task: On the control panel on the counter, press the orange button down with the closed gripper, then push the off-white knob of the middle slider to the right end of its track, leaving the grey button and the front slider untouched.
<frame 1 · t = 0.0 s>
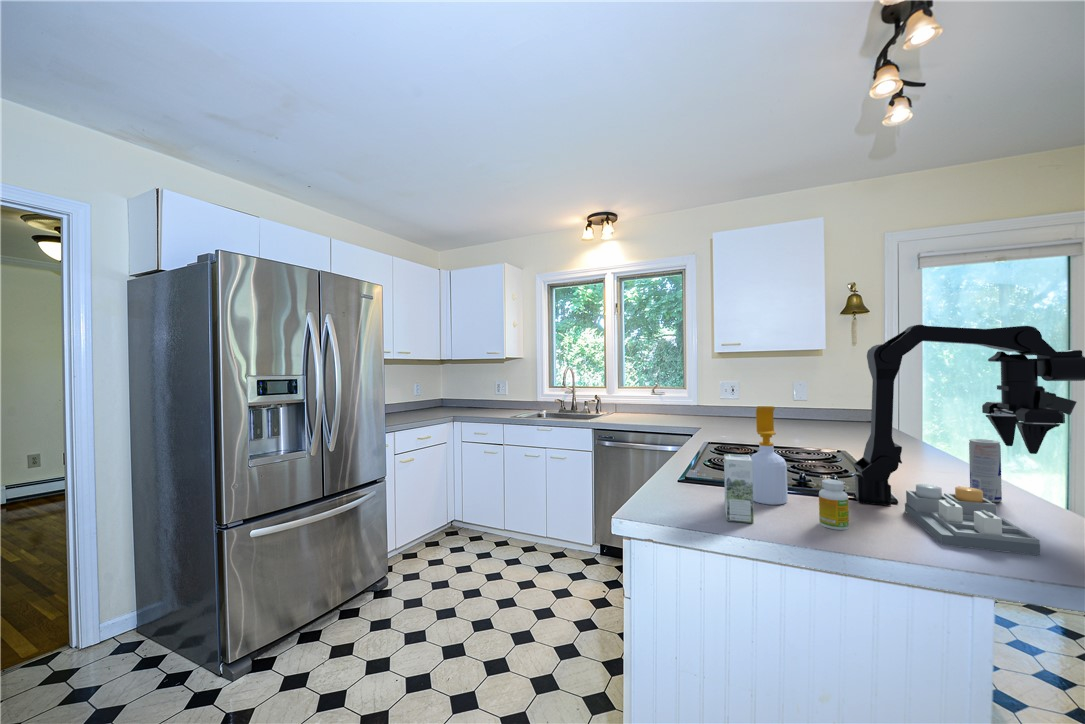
hand: (1020, 449, 101), 15 cm above the table, tool pointing down, fingers open, 9 cm apart
slider s1: (987, 523, 86), point 4 cm above the table, slide at 3.5 cm
panel: (963, 530, 92), on the table
button b2: (968, 496, 97), point 5 cm above the table, slide at 0.0 cm
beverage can: (985, 500, 111), on the table
syrup box: (739, 519, 103), on the table
slider s2: (950, 511, 92), point 4 cm above the table, slide at 0.0 cm
supplement bottle: (834, 526, 97), on the table
soap bottle: (767, 500, 115), on the table
button b1: (928, 493, 100), point 5 cm above the table, slide at 0.0 cm
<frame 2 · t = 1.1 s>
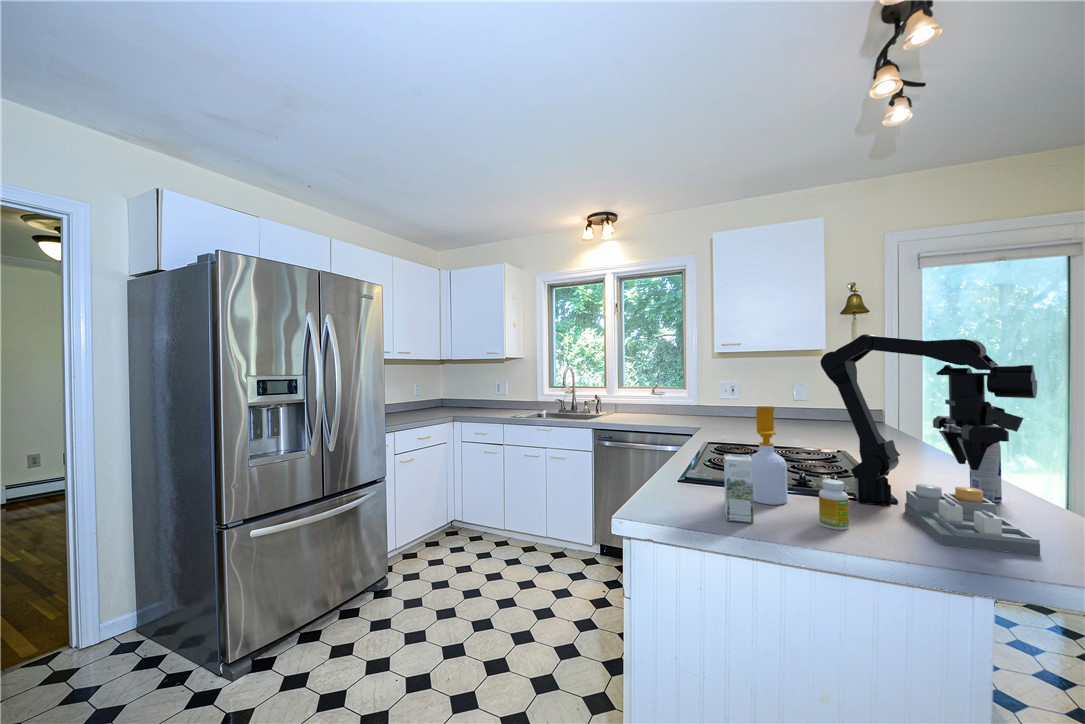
hand: (968, 466, 97), 12 cm above the table, tool pointing down, fingers open, 5 cm apart
nothing on the table moved.
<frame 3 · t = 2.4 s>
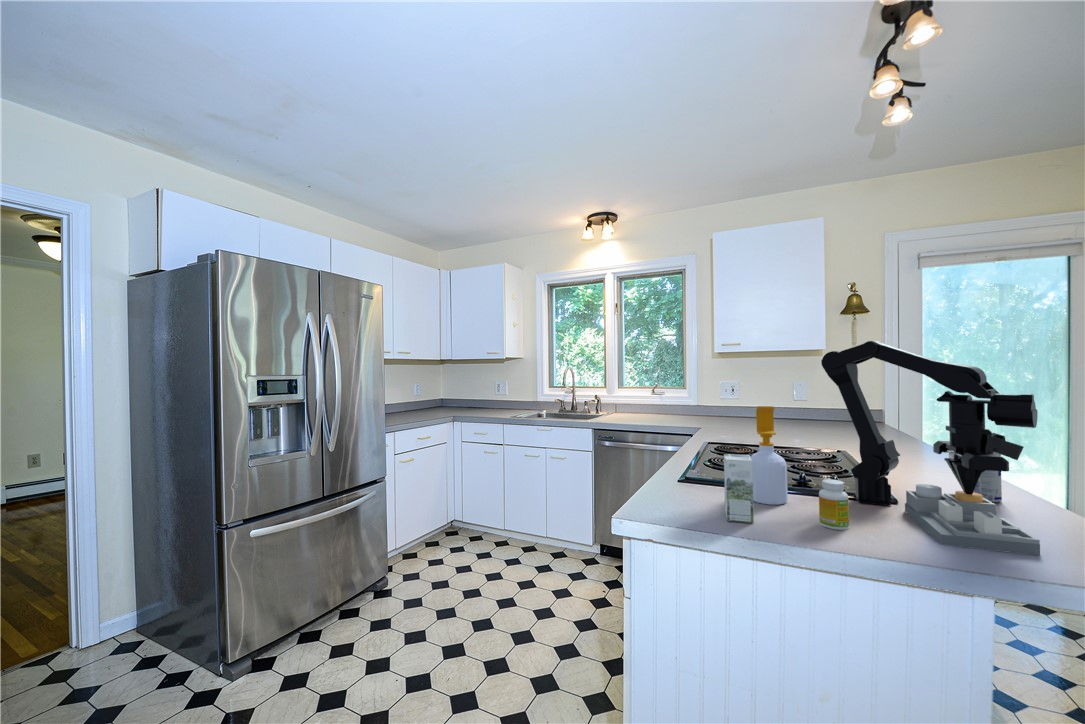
hand: (968, 493, 97), 6 cm above the table, tool pointing down, fingers closed, pressing on button b2
button b2: (968, 501, 97), point 4 cm above the table, slide at -1.0 cm, touching gripper
everything else where it was.
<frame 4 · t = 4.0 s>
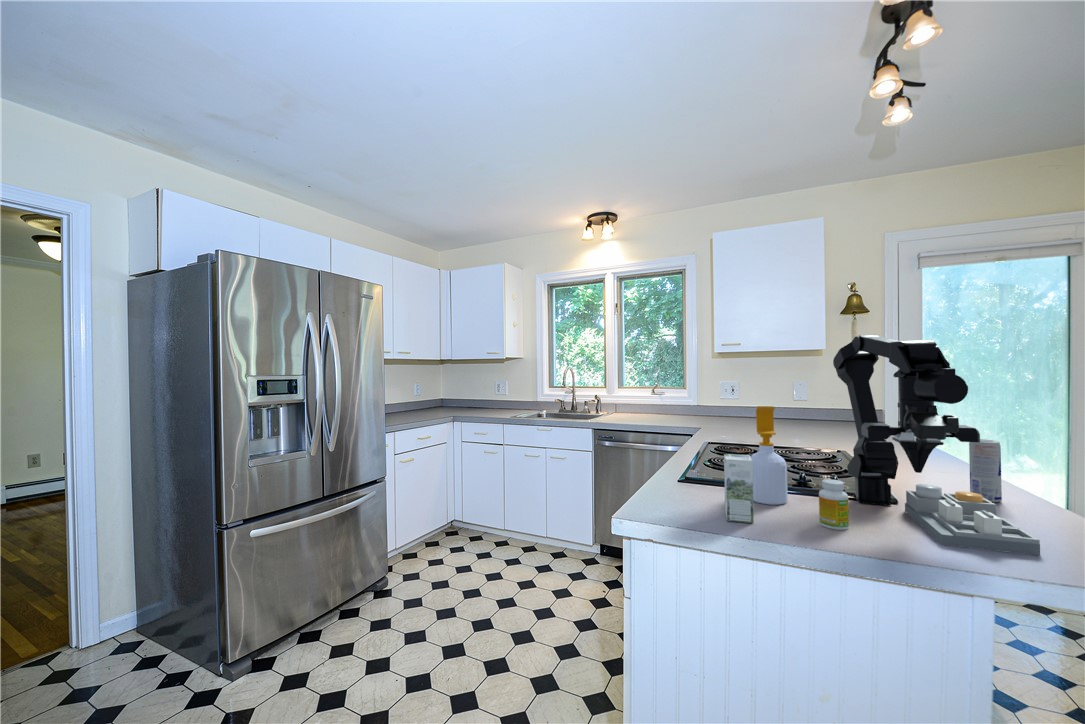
hand: (917, 472, 95), 12 cm above the table, tool pointing down, fingers closed
button b2: (969, 501, 97), point 4 cm above the table, slide at -1.0 cm
everything else where it was.
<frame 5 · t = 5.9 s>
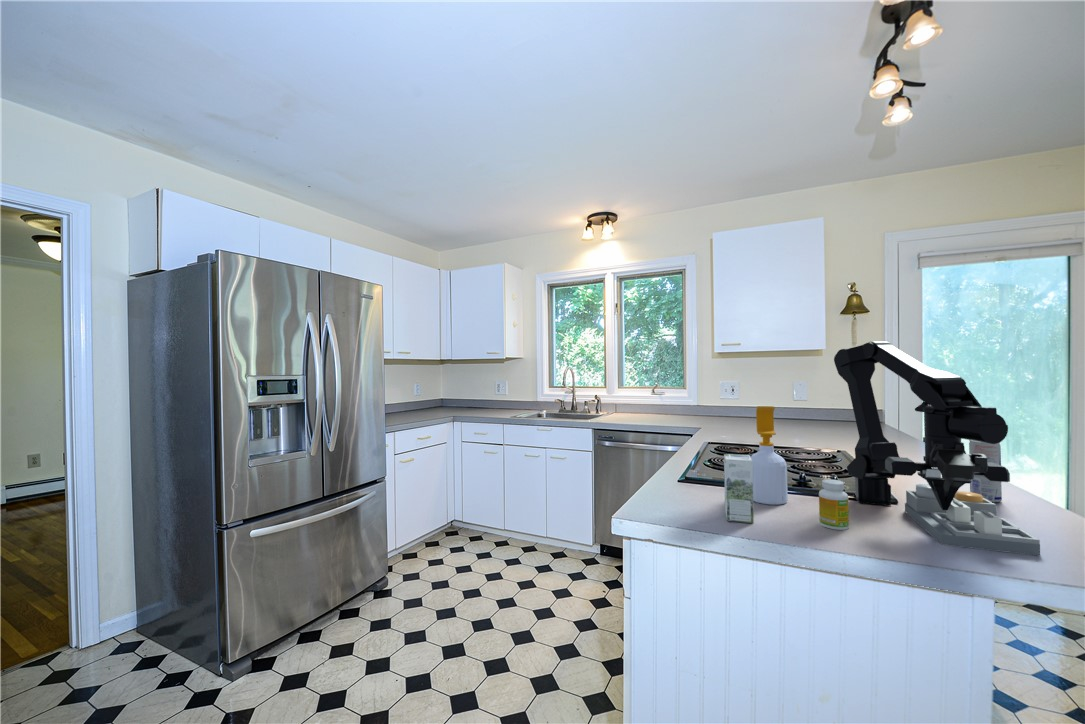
hand: (944, 509, 93), 4 cm above the table, tool pointing down, fingers closed
slider s2: (958, 511, 92), point 4 cm above the table, slide at 1.3 cm, touching gripper
everything else where it was.
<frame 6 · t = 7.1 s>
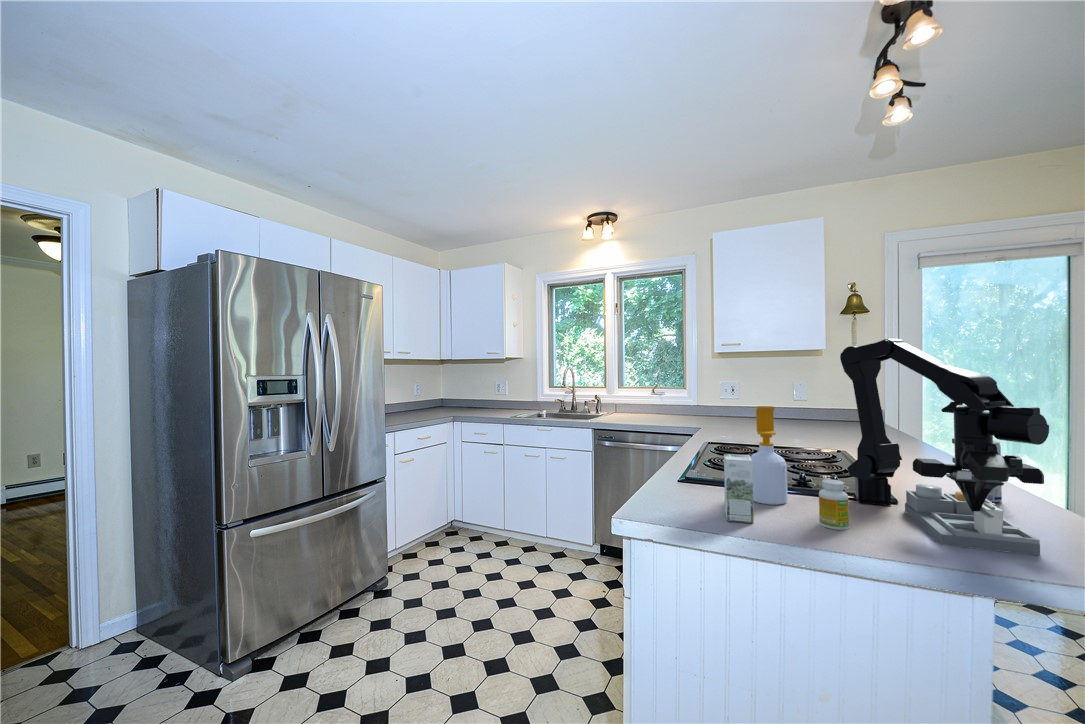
hand: (975, 512, 91), 4 cm above the table, tool pointing down, fingers closed
slider s2: (989, 514, 90), point 4 cm above the table, slide at 6.2 cm, touching gripper
everything else where it was.
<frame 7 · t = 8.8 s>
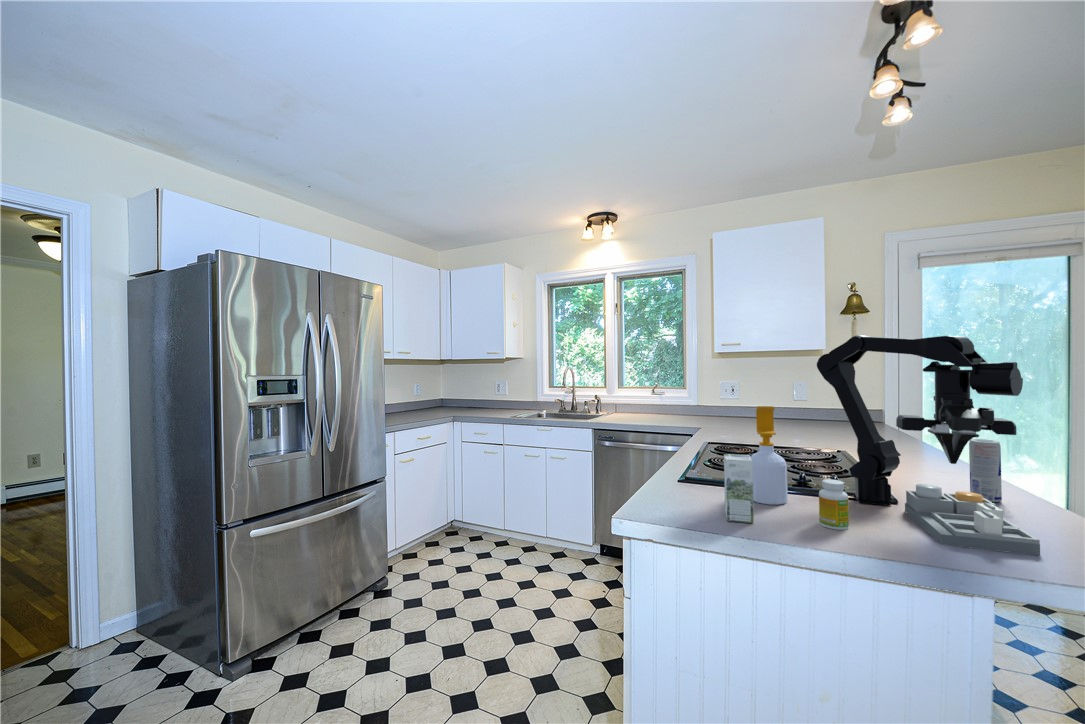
hand: (952, 463, 98), 13 cm above the table, tool pointing down, fingers closed
slider s2: (989, 514, 90), point 4 cm above the table, slide at 6.2 cm
everything else where it was.
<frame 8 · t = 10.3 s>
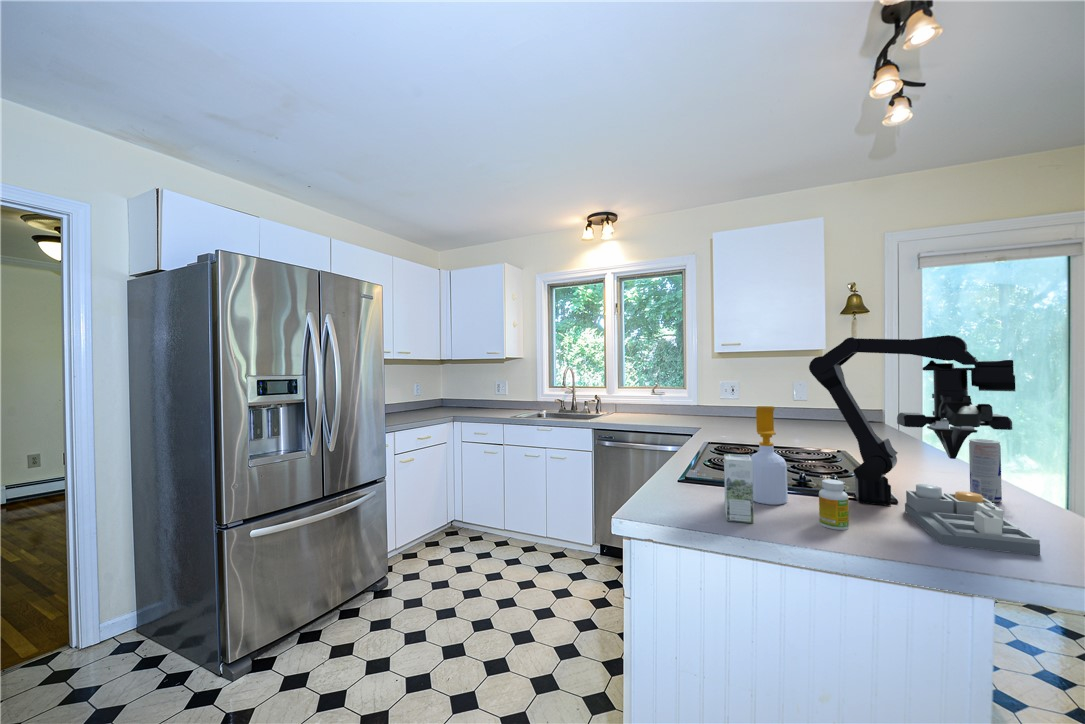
hand: (952, 458, 101), 13 cm above the table, tool pointing down, fingers closed
nothing on the table moved.
at the end: slider s2 slide at 6.2 cm; button b2 slide at -1.0 cm; slider s1 slide at 3.5 cm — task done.
